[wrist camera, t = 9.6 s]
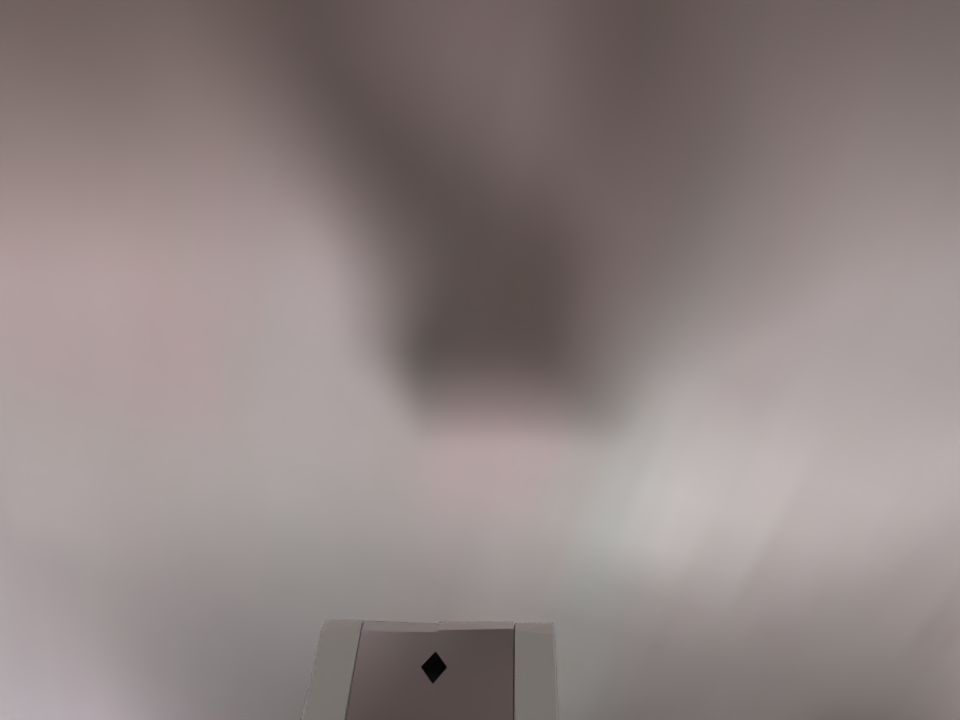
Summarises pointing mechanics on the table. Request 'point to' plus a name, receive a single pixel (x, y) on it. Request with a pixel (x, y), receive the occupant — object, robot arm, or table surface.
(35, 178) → the table surface
